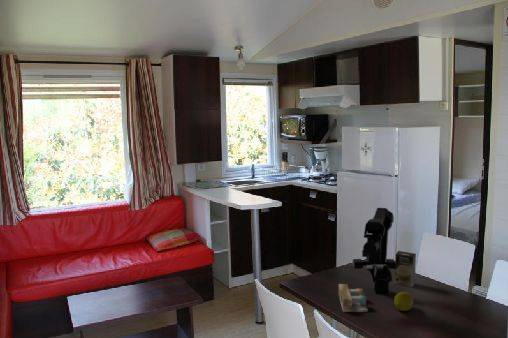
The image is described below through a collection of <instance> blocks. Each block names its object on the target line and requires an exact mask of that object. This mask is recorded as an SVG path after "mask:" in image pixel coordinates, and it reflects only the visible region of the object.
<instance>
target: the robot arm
mask: <svg viewBox="0 0 508 338" xmlns="http://www.w3.org/2000/svg"><path fill="white" fill-rule="evenodd" d="M394 219H395V216H394V213H393V212H392V211H390V210H389V209H388V208H387V207H377V208H376V211H375V213H374V215H373V217H372V219H368V221H367V222H366V223H365V226H364V233H363V238H365V239H366V242H365V243H364V244H363V246H362V250H361V253H362V254H361V257H362V258H366V260H365V261H363V260H362V258H353V259H352V267H353V269H354V270H355V269H357V270H358V269H363V267H365V269H366V271H368V272H369V273H370V276H371V280H372V282H373V283H372V284H373V288H372V289H373V291H374V293H375V294H376V295H390V292H389V291H390V289H389V287H390V286H389V283H391V282H392V281H393V276H392V272H391V270H395V269H397V264H396V262H395V261H396V260H394V258H388V257H387V256H388V242H389V241H388V240H389V231H390V230H391V228H392V227H393V223H394V221H395V220H394Z"/></svg>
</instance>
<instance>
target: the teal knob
mask: <svg viewBox="0 0 508 338" xmlns="http://www.w3.org/2000/svg"><path fill="white" fill-rule="evenodd" d="M351 298H352V303H354V304H360V305H366V306H367V296H366V294H363V295H359V296H351Z"/></svg>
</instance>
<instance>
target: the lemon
mask: <svg viewBox="0 0 508 338" xmlns="http://www.w3.org/2000/svg"><path fill="white" fill-rule="evenodd" d="M393 300H394V302H393V303H394V306H395V307H396V309H398V310H399V311H400V312H406V311H407V312H408V311H409V310H411V309H412V308H413V307H412V306H414V298H413V296H412V294H410V293H409V292H406V291H402V292H399V293H397V294H396V295H395V296H394V299H393Z"/></svg>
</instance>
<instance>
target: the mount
mask: <svg viewBox="0 0 508 338" xmlns="http://www.w3.org/2000/svg"><path fill="white" fill-rule="evenodd" d="M349 289H350V288H349V286H348V283H338V298H339V302H340V305H341V309H342V312H344V313H345V312H347V313H349V312H351V313H354V312H355V313H364V312H365V313H367V312H369V309H368V307H367V304H366V305H360V304H354V303H352V298H351V295H350V292H349Z"/></svg>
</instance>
